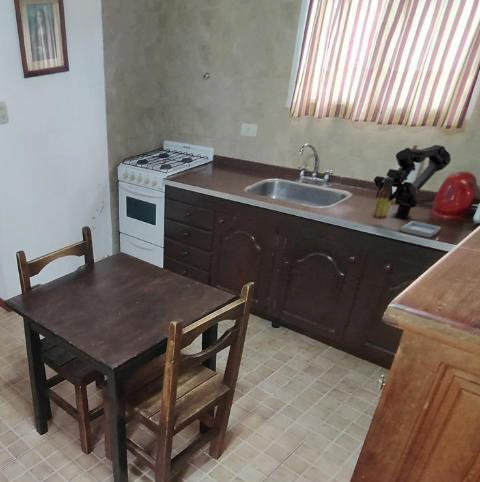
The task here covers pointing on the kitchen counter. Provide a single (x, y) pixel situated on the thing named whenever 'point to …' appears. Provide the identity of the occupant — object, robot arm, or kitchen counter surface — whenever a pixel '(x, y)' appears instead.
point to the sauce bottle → (384, 199)
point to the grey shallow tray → (420, 229)
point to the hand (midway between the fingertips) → (382, 199)
